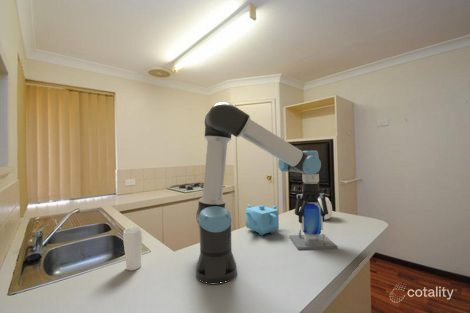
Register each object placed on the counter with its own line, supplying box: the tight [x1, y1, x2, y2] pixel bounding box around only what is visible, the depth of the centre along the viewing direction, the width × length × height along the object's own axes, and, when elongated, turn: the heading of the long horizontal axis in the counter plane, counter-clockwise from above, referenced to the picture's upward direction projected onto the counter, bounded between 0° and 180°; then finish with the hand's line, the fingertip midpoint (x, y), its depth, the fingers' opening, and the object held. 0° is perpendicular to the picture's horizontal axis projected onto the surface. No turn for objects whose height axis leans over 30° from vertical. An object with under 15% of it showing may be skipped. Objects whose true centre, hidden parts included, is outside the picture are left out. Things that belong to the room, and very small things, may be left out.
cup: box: [318, 196, 333, 221], centre depth 143 cm, size 13×13×14 cm
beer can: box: [302, 202, 322, 237], centre depth 105 cm, size 8×8×16 cm
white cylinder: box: [122, 226, 143, 271], centre depth 86 cm, size 7×7×15 cm
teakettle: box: [243, 203, 280, 237], centre depth 122 cm, size 19×19×15 cm
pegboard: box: [288, 228, 338, 251], centre depth 106 cm, size 18×14×5 cm
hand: (311, 229), depth 106 cm, fingers closed on beer can, 8 cm apart
